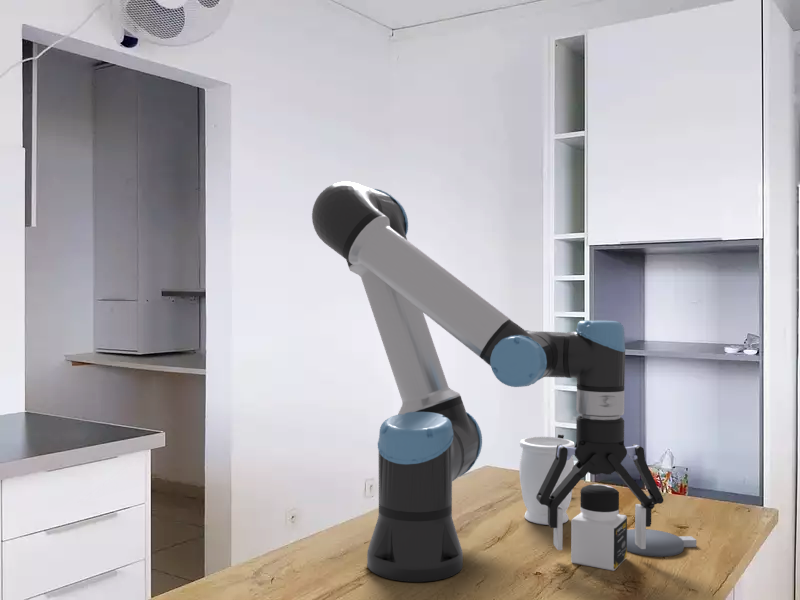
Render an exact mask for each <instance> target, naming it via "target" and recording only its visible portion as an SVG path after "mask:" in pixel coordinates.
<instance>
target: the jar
mask: <svg viewBox="0 0 800 600" xmlns="http://www.w3.org/2000/svg"><path fill="white" fill-rule="evenodd" d="M559 444H561V445H563V446H565V447H575V442H574V441H572V440H570V439H567V438H563V439H562V438H558V437H554V436H533V437H531V436H530V437H524V438H522V439H520V440H519V447H521V448H522V450H521V451H522V452H521V455H520V459H519V460H520V461H519V470H518V471H519V472H518V473H519V483H520V488H521V495H522V500H523V501H522V502H523V503H524V506H525V508H526V511H525V514H524V519H526V521H528V522H529V523H530V522H531V523H532V524H533V523H534V524H537V525H547V526H549V524H548V506H546V505H542V504H540V502H539V501H538V500H537V499H536V496H537V494H538V492H539V490H540V488H541V486H542V484H543V482H544V480H545V478H546V476H547V474H548V472H549V470H550V468H551V466H552V464H553V462H554V460H555V457H556V448H557V446H558V445H559ZM573 456H574V455H572V456H571V458H570V459H569V460H567V461H566V465H565V467H564V469H563V471H562V473H561V475H560V477H559V479H558V481H557V483H556V485H555V487H554V489H553V491H552V493H553V492H554V491H555V490H556V488H557V487H558V486H559V485H560V484H561V482H562V481H563V480H564V479H565V478H566V476H567V475H568V474H569V473H570V472H571V470H572V468H573V466H574V465H575V460H574V457H573ZM573 489H574V488H573ZM573 489H572V490H571V492H570V493H569V494H568V495H567V496H566V498H565V499H564V500H563V501H562V502H561V504H560V505H559V506H560V507H561V508H562V509H563V524H565V523H567V522H568V521H569V516H568V514H567V510H569V507H570V504H571V501H572V495H573ZM552 493H551V494H552ZM550 496H551V495H550Z"/></svg>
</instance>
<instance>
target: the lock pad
mask: <svg viewBox="0 0 800 600" xmlns="http://www.w3.org/2000/svg"><path fill="white" fill-rule="evenodd" d="M684 548H697V539H696V538H695V537H693V536H692V535H690V536H689V535H687V536H685V535H684V536H683V535H682V536H678V535H675V534H674V533H670V532H668V531H662V530H657V529H648V528H646V549H640V548H639V547H638V546H637V545H636V544H635V527H631V528H628V527H627V553H628V552H629V553H631V554H635V555H641V556H648V557H672V556H674V557H675V556H677V555H680V554H682V553H683V552H684Z"/></svg>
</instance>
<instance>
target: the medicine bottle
mask: <svg viewBox="0 0 800 600" xmlns="http://www.w3.org/2000/svg"><path fill="white" fill-rule="evenodd" d="M570 524H571V528H570V531H571V533H570V534H571V535H570V539H571V540H570V543H571V544H570V546H571V548H570V552H571V553H570V561H571V563H572V564H576V565H582V566H586V567H593V568H598V569H603V570H607V571H616V569H618V567H620V565H621V564H622V563H623V562H624V561H625V560H626V559H627V555H628V554H627V553H628V551H627V530H628V516H627V515H626V514H620V492H619V491H618V489H616V488H615V487H613V486H610V485H608V484H607V485H606V484H597V483H596V484H589V485H588V484H587V485H585V486H583V487H582V488H581V489H580V513H578V514H577V515H575V516H574V517H573V518H571V522H570Z"/></svg>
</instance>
